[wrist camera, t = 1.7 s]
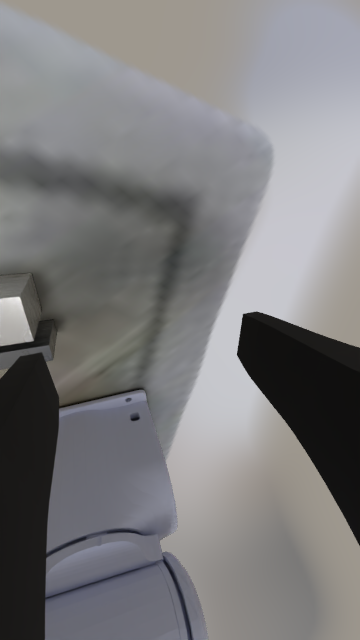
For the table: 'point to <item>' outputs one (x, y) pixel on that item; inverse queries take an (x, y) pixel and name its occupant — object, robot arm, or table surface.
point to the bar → (18, 309)
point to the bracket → (31, 345)
